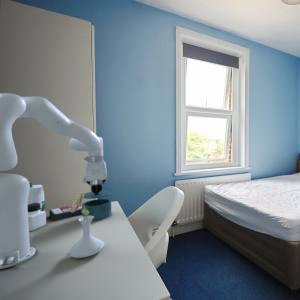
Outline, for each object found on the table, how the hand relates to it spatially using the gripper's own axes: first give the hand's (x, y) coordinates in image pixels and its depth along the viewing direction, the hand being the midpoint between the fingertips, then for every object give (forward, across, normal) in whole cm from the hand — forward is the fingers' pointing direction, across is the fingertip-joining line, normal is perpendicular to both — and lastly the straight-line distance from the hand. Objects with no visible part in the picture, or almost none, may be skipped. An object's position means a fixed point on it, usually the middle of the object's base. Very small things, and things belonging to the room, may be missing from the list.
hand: (96, 191), depth 115 cm
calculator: (+14, -14, +12) cm, 23 cm away
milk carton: (+14, -29, +14) cm, 35 cm away
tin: (+14, 0, 0) cm, 14 cm away
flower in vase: (+14, -4, -40) cm, 43 cm away
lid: (+2, 0, 0) cm, 2 cm away
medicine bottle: (+14, -27, +1) cm, 31 cm away
